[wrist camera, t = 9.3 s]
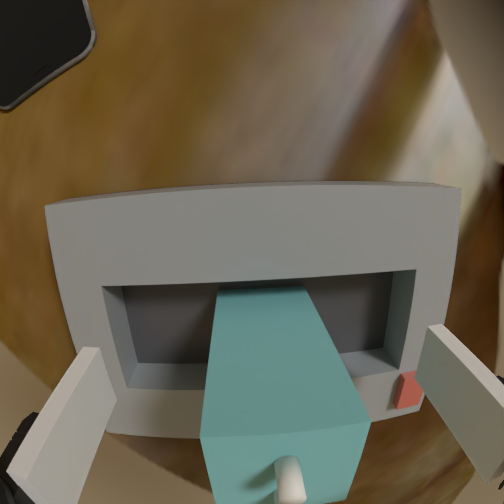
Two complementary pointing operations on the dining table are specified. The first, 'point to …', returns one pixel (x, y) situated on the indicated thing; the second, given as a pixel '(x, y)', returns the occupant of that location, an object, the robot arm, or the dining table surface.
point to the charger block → (278, 403)
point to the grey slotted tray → (252, 282)
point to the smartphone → (40, 43)
